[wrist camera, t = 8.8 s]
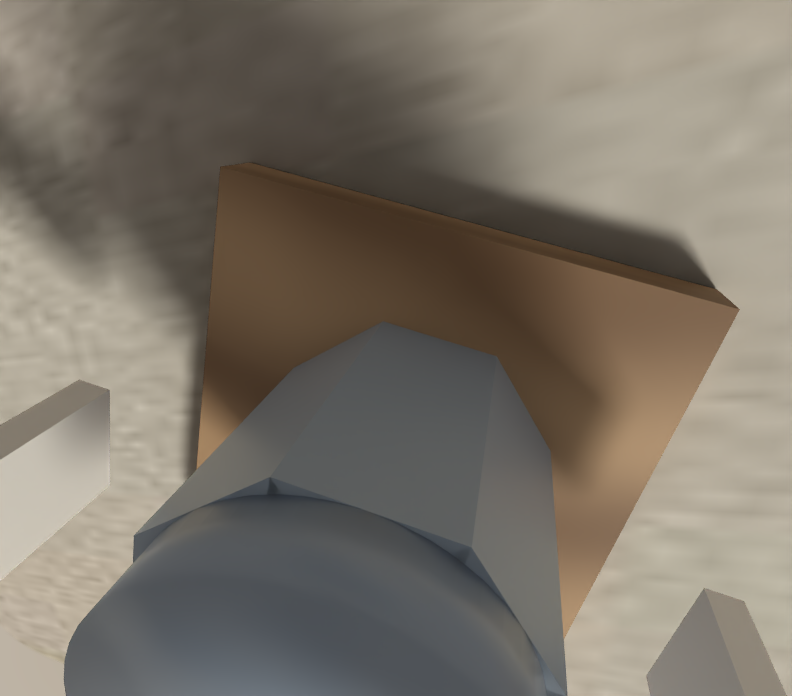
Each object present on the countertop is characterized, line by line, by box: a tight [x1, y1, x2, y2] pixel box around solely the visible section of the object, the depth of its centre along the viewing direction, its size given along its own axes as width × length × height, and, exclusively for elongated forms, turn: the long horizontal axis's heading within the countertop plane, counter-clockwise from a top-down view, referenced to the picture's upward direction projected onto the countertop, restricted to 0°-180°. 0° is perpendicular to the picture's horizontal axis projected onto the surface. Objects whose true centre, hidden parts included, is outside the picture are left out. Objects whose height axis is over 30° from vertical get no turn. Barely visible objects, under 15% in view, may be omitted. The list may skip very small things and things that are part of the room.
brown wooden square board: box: [196, 163, 740, 638], centre depth 13 cm, size 12×12×6 cm
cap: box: [64, 321, 567, 696], centre depth 11 cm, size 7×7×8 cm
